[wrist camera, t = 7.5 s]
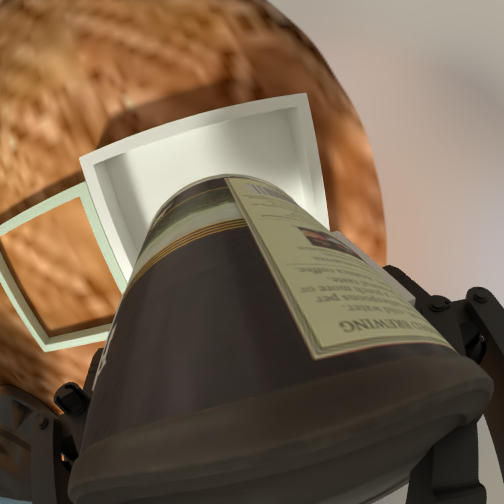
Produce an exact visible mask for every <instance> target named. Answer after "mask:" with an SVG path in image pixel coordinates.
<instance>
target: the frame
mask: <svg viewBox="0 0 504 504" xmlns="http://www.w3.org/2000/svg"><path fill="white" fill-rule="evenodd" d="M79 196H80V199H81V202H82V204H83V207H84V210H85V212H86V215H87V218H88V220H89V223H90V225H91V228H92V230H93V233H94V235H95V237H96V240H97V242H98V244H99V247H100V249H101V251H102V254H103V256H104V258H105V260H106V262H107V265H108V267H109V269H110V271H111V273H112V275H113V277H114V279H115V281H116V283H117V285H118V287H119V289H120V291H121V293H122V294H123V292H125V289H126V287H127V284H128V283H127V281H126V279H125V277H124V275H123V272H122V270H121V268H120V266H119V264H118V261H117V259H116V257H115V255H114V252H113V250H112V248H111V245H110V243H109V241H108V238H107V236H106V233H105V231H104V229H103V226H102V223H101V221H100V218H99V216H98V213H97V210H96V208H95V205H94V202H93V200H92V197H91V194H90V191H89V188H88V185H87V182H86V181H84V182H82V183H79V184H77V185H75V186H73V187H71V188H68V189H66V190H64V191H62V192H60V193H58V194H56V195H54V196H52V197H50V198H48V199H46V200H44V201H42V202H40V203H38V204H36V205H34V206H33V207H31V208H29V209H27V210H25V211H23V212H22V213H20V214H18V215H16V216H15V217H13V218H11V219H9V220H8V221H6V222H4V223H3V224H1V225H0V236H1V235H3V234H5V233H7V232H8V231H10V230H12V229H14V228H16V227H17V226H19V225H21V224H23V223H25V222H27V221H29V220H31V219H33V218H34V217H36V216H38V215H40V214H42V213H44V212H46V211H48V210H51V209H53V208H55V207H57V206H59V205H61V204H63V203H65V202H67V201H70V200H72V199H74V198H76V197H79ZM0 282H1V284H2V286H3V288H4V290H5V292H6V294H7V295H8V297H9V299H10V301H11V302H12V304H13V306H14V307H15V309H16V311H17V312H18V314H19V316H20V317H21V319H22V320H23V322H24V323H25V325H26V327H27V328H28V330H29V331H30V333H31V334H32V335H33V337H34V338H35V340H36V341H37V343H38V344H39V345H40V347H41V348H42V349H43V351H44V352H48V351H53V350H59V349H64V348H69V347H74V346H79V345H84V344H89V343H94V342H98V341H103V340H107V337H108V334H109V331H110V328H111V325H112V323H110V324H106V325H101V326H97V327H93V328H89V329H85V330H80V331H76V332H72V333H67V334H63V335H59V336H54V337H50V338H49V337H48V335H47V334H46V332H45V331H44V330H43V328H42V327H41V325H40V323H39V322H38V320H37V319H36V317H35V316H34V314H33V312H32V311H31V309H30V307H29V306H28V304H27V302H26V301H25V299H24V297H23V295H22V294H21V292H20V290H19V288H18V286H17V284H16V283H15V281H14V279H13V277H12V275H11V273H10V271H9V269H8V267H7V265H6V263H5V261H4V258H3V256H2V254H1V252H0Z"/></svg>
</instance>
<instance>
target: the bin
mask: <svg viewBox="0 0 504 504" xmlns="http://www.w3.org/2000/svg"><path fill="white" fill-rule="evenodd" d="M79 160H80V163H81V167H82V170H83V173H84V176H85V179H86V182H87V185H88V188H89V191H90V194H91V197H92V200H93V202H94V205H95V208H96V210H97V213H98V216H99V218H100V221H101V223H102V226H103V229H104V231H105V233H106V236H107V238H108V241H109V243H110V245H111V248H112V250H113V252H114V255H115V257H116V259H117V261H118V264H119V266H120V268H121V270H122V272H123V275H124V277H125V279H126V281H127V283H128V281H129V279H130V276H131V274H132V271H133V268H134V266H135V263H136V261H137V258H138V255H139V253H140V251H141V248H142V245H143V243H144V241H145V238H146V234H147V231H148V228H149V226H150V224H151V222H152V220H153V218H154V216H155V214H156V213H157V211H158V210H159V209H160V207H161V206H162V205H163V204H164V203H165V202H166V201H167V200H168V199H169V198H170V197H171V196H172V195H173V194H175V193H176V192H177V191H179V190H180V189H182V188H183V187H185V186H187V185H188V184H190V183H193V182H195V181H197V180H200V179H202V178H206V177H209V176H215V175H219V174H241V175H248V176H253V177H256V178H260V179H262V180H265V181H267V182H270V183H272V184H273V185H275V186H277V187H279V188H280V189H281V190H283V191H284V192H285V193H287V194H288V195H289V196H290V197H292V199H293V200H294V201H295V202H296V203H297V204H298V205H299V206H300V207H302V208H303V209H304V210H305V211H307V212H308V213H309V214H310V215H312V216H313V217H314V218H315V219H316V220H317V221H318V222H320V223H321V224H322V225H323V226H324V227H326V228H327V229H328V230H329V231H330V227H329V219H328V211H327V204H326V197H325V190H324V183H323V177H322V170H321V164H320V158H319V153H318V147H317V142H316V136H315V131H314V126H313V121H312V116H311V111H310V107H309V102H308V97H307V93H300V94H292V95H286V96H279V97H273V98H267V99H262V100H257V101H251V102H246V103H242V104H237V105H233V106H228V107H224V108H220V109H216V110H212V111H208V112H204V113H200V114H197V115H193V116H189V117H186V118H183V119H179V120H176V121H173V122H170V123H166V124H163V125H160V126H157V127H154V128H151V129H149V130H146V131H143V132H140V133H137V134H135V135H132V136H129V137H127V138H124V139H122V140H119V141H117V142H114V143H112V144H109V145H107V146H104V147H102V148H100V149H97V150H95V151H93V152H91V153H88V154H86V155H84V156H82V157H80V158H79Z"/></svg>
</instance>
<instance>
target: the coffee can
mask: <svg viewBox="0 0 504 504" xmlns="http://www.w3.org/2000/svg"><path fill="white" fill-rule="evenodd" d="M493 392H494V383H493V379H492V378H491V377H490V376H489V375H488V374H487V373H486V372H485V371H484V370H483V369H482V368H481V367H480V366H479V365H478V364H477V363H476V362H475V361H474V360H472V359H470V358H468V357H465V356H460V355H459V354H458V353H457V352H456V350H455V349H454V348H453V347H452V346H451V345H450V344H449V343H448V342H447V341H446V340H445V339H444V338H443V337H442V335H441V334H440V333H439V332H438V331H437V330H436V329H435V328H434V327H433V326H432V325H431V324H430V323H429V322H428V321H427V320H426V319H425V318H424V317H423V316H422V315H421V314H420V313H419V312H418V311H417V310H416V309H415V308H414V307H413V306H412V305H411V304H410V303H409V302H408V301H407V300H406V299H405V298H404V297H403V296H402V295H401V294H400V293H398V292H397V291H396V290H395V289H394V288H393V287H392V286H391V285H390V284H389V283H388V282H387V281H386V280H385V279H384V278H383V277H382V276H381V275H380V274H379V273H378V272H377V271H376V270H375V269H373V268H372V267H371V266H369V265H368V264H367V263H366V262H365V261H364V260H363V259H362V258H361V257H360V256H359V255H358V254H357V253H356V252H354V251H353V250H352V249H350V248H349V247H348V246H347V245H345V244H344V243H343V242H342V241H341V240H340V239H339V238H337V237H336V236H335V235H334V234H333V233H332V232H330V231H329V230H328V229H327V228H326V227H324V226H323V225H322V224H321V223H320V222H318V221H317V220H316V219H315V218H314V217H313V216H312V215H310V214H309V213H308V212H307V211H305V210H304V209H303V208H302V207H300V206H299V205H298V204H297V203H296V202H295V201H294V200H293V199H292V197H290V196H289V195H288V194H287V193H285V192H284V191H283V190H281V189H280V188H279V187H277V186H275V185H273V184H272V183H270V182H267V181H265V180H262V179H260V178H256V177H253V176H248V175H241V174H219V175H215V176H209V177H206V178H202V179H200V180H197V181H195V182H193V183H190V184H188V185H187V186H185V187H183V188H182V189H180V190H179V191H177V192H176V193H175V194H173V195H172V196H171V197H170V198H169V199H168V200H167V201H166V202H165V203H164V204H163V205H162V206H161V207H160V209H159V210H158V211H157V213H156V214H155V216H154V218H153V220H152V222H151V224H150V226H149V228H148V231H147V234H146V238H145V241H144V243H143V245H142V248H141V251H140V253H139V255H138V258H137V261H136V263H135V266H134V268H133V271H132V274H131V276H130V279H129V281H128V284H127V287H126V289H125V292H124V295H123V298H122V301H121V303H120V306H119V309H118V312H117V315H116V317H115V320H114V323H113V326H112V329H111V332H110V334H109V336H108V340H107V344H106V347H105V350H104V353H103V357H102V360H101V364H100V367H99V370H98V375H97V380H96V384H95V387H94V390H93V394H92V399H91V403H90V407H89V410H88V414H87V419H86V425H85V430H84V434H83V441H82V446H81V451H80V456H79V457H78V458H77V459H76V460H75V462H74V464H73V466H72V470H71V474H70V478H69V484H68V491H67V492H68V496H69V499H70V500H71V501H72V502H73V504H372V503H374V502H376V501H378V500H380V499H382V498H383V497H385V496H387V495H389V494H391V493H393V492H394V491H396V490H398V489H399V488H401V487H403V486H404V485H406V484H407V483H409V478H410V471H411V470H412V469H413V468H414V467H415V466H416V465H417V464H418V462H419V461H420V460H421V459H422V458H423V457H424V456H425V454H426V453H427V452H428V451H429V450H430V448H431V447H432V446H433V445H434V443H436V442H437V441H439V440H440V439H442V438H443V437H444V436H446V435H447V434H448V433H450V432H451V431H452V430H454V429H455V428H456V427H458V426H466V425H468V424H469V423H470V422H472V421H473V420H474V419H475V418H476V421H477V422H478V421H479V419H480V418H481V416H482V415H483V413H484V411H485V410H486V408H487V406H488V404H489V402H490V400H491V398H492V395H493Z"/></svg>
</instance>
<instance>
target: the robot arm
mask: <svg viewBox="0 0 504 504" xmlns="http://www.w3.org/2000/svg"><path fill="white" fill-rule="evenodd" d="M332 233H333V234H334V235H335V236H336V237H337V238H339V239H340V240H341V241H342V242H343V243H344V244H345V245H347V246H348V247H349V248H350V249H352V250H353V251H354V252H356V253H357V254H358V255H359V256H360V257H361V258H362V259H363V260H364V261H365V262H366V263H367V264H368V265H369V266H371V267H372V268H373V269H375V270H376V271H377V272H378V273H379V274H380V275H381V276H382V277H383V278H384V279H385V280H386V281H387V282H388V283H389V284H390V285H391V286H392V287H393V288H394V289H395V290H396V291H397V292H398V293H400V294H401V295H402V296H403V297H404V298H405V299H406V300H407V301H408V302H409V303H410V304H411V305H412V306H413V307H414V308H415V309H416V310H417V311H418V312H419V313H420V314H421V315H422V316H423V317H424V318H425V319H426V320H427V321H428V322H429V323H430V324H431V325H432V326H433V327H434V328H435V329H436V330H437V331H438V332H439V333H440V334H441V335H442V337H443V338H444V339H445V340H446V341H447V342H448V343H449V344H450V345H451V346H452V347H453V348H454V349H455V350H456V352H457V353H458V354H459V355H460V356H465V357H468V358H470V359H472V360H474V361H475V362H476V363H477V364H478V365H479V366H480V367H481V368H482V369H483V370H484V371H485V372H486V373H487V374H488V375H489V376H490V377H491V378H492V379H493V383H494V392H493V395H492V398H491V400H490V402H489V404H488V406H487V408H486V410H485V411H484V413H483V414H484V417H485V420H486V422H487V425H488V428H489V431H490V434H491V437H492V440H493V443H494V447H495V450H496V454H497V457H498V461H499V465H500V469H501V473H502V478H503V482H504V308H503V307H502V306H501V304H500V303H499V302H498V301H497V299H496V298H495V297H494V295H493V294H492V293H491V292H490V291H489V290H487V289H485V288H483V287H473V288H471V289H469V290H468V292H467V295H466V299H463V300H458V301H453V302H451V301H450V300H449V299H447V298H446V297H443V296H439V295H433V296H430V295H429V294H428V293H427V292H426V291H425V290H424V289H422V288H421V287H420V286H419V285H418V284H416V283H415V282H414V281H413V280H411V278H409V277H408V276H406V274H405V273H404V272H402V271H401V270H400V269H399V268H396V267H393V266H391V265H387V266H385V267H381V266H379V265H378V264H377V263H376V262H375V261H374V260H372V259H371V258H370V257H369V256H368V255H367V254H365V253H364V252H363V251H362V250H361V249H359V248H358V247H357V246H356V245H355V244H353V243H352V242H351V241H350V240H349V239H347V238H346V237H345V236H344V235H343V234H341V233H340V232H339V231H334V232H332ZM123 295H124V292H123V294H122V297H121V300H120V303H121V301H122V298H123ZM120 303H119V305H118V308H117V311H116V314H115V316H114V319H113V322H112V325H111V328H110V331H109V334H110V332H111V329H112V326H113V323H114V320H115V317H116V315H117V312H118V309H119V306H120ZM109 334H108V336H109ZM482 336H483V337H482ZM483 338H484V339H483ZM107 340H108V337H107ZM107 340H106V343H105V346H104V348H99V349H98V350H97V352H96V353H95V355H94V356H93V358H92V361H91V364H90V367H89V370H88V374H87V377H86V380H85V384H84V387H83V390H82V389H81V388H80V387H79V386H78V384H76V383H74V382H68V383H66V384H64V385H62V386H61V387H60V388H59V389H58V390H57V392H56V394H55V396H54V403H55V404H56V405H57V406H58V407H59V408H60V409H61V410H62V411H63V412H64V414H61V415H59V416H57V415H56V414H55V413H54V412H53V411H52V410H51V409H50V408H49V407H47V406H46V405H45V404H43V403H42V402H41V401H39V400H38V399H36V398H35V397H33V396H32V395H30V394H28V393H26V392H25V391H23V390H21V389H18V388H16V387H13V386H10V385H0V504H73V502H72V501H71V500H70V499H69V496H68V492H67V491H68V484H69V478H70V474H71V470H72V466H73V464H74V462H75V460H76V459H77V458H78V457H79V456H80V451H81V446H82V441H83V434H84V430H85V425H86V419H87V414H88V410H89V407H90V403H91V399H92V394H93V390H94V387H95V384H96V380H97V375H98V370H99V367H100V364H101V360H102V357H103V353H104V350H105V347H106V344H107ZM61 454H62V455H63V456H64V461H62V455H61ZM486 499H487V496H486V489H485V487H484V486H483V485H482V484H481V483H480V482H479V479H478V434H477V421H476V418H475V419H474V420H473V421H472V422H470V423H469V424H468V425H466V426H458V427H456V428H455V429H454V430H452V431H451V432H450V433H448V434H447V435H446V436H444V437H443V438H442V439H440V440H439V441H437V442H436V443H434V445H433V446H432V447H431V448H430V450H429V451H428V452H427V453H426V454H425V456H424V457H423V458H422V459H421V460H420V461H419V462H418V464H417V465H416V466H415V467H414V468H413V469H412V470H411V471H410V478H409V486H408V493H407V499H406V504H486Z"/></svg>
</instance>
